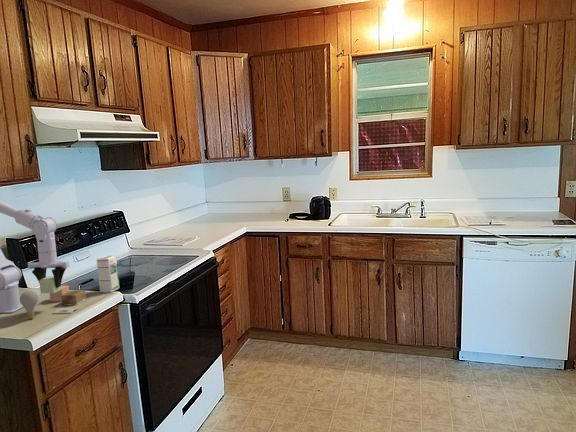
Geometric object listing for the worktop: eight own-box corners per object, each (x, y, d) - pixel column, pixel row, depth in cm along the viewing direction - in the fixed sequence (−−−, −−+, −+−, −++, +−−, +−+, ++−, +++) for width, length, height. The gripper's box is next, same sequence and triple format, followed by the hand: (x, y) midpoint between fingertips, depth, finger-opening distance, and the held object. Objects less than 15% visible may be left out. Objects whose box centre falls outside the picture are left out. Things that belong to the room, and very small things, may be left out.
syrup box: (112, 292, 174) (109, 258, 172) (99, 292, 175) (96, 258, 173) (120, 288, 180) (117, 255, 178) (107, 288, 181) (104, 255, 179)
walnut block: (62, 305, 160) (61, 295, 160) (71, 300, 166) (70, 290, 166) (76, 305, 159) (75, 295, 159) (86, 300, 165) (85, 290, 165)
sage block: (40, 293, 153) (39, 280, 152) (49, 289, 158) (47, 276, 157) (54, 293, 153) (52, 279, 152) (61, 288, 158) (60, 276, 157)
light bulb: (18, 321, 144) (14, 293, 143) (30, 315, 149) (27, 288, 148) (32, 321, 143) (29, 293, 142) (44, 316, 148) (41, 288, 147)
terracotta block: (50, 301, 165) (49, 289, 164) (57, 297, 170) (56, 285, 169) (62, 301, 164) (61, 289, 164) (69, 297, 169) (68, 285, 169)
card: (52, 313, 150) (52, 312, 150) (60, 309, 155) (60, 307, 155) (71, 313, 150) (71, 312, 150) (78, 308, 155) (78, 307, 155)
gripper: (20, 253, 150) (24, 290, 151) (60, 252, 149) (63, 289, 151) (33, 249, 157) (37, 285, 158) (71, 248, 156) (74, 284, 158)
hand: (51, 287), depth 155 cm, fingers closed on sage block, 5 cm apart
